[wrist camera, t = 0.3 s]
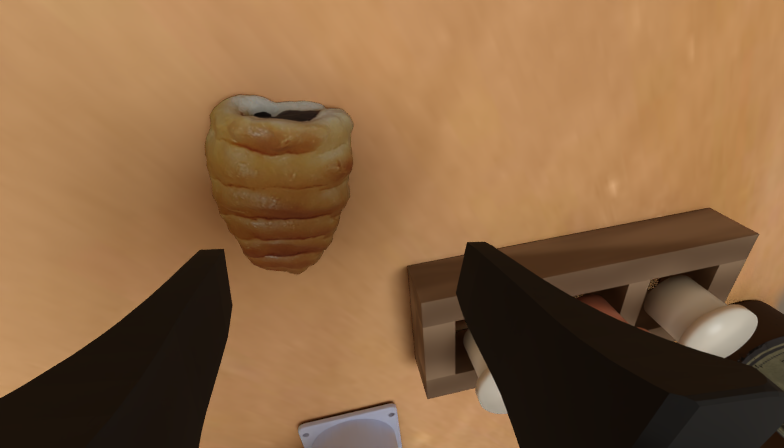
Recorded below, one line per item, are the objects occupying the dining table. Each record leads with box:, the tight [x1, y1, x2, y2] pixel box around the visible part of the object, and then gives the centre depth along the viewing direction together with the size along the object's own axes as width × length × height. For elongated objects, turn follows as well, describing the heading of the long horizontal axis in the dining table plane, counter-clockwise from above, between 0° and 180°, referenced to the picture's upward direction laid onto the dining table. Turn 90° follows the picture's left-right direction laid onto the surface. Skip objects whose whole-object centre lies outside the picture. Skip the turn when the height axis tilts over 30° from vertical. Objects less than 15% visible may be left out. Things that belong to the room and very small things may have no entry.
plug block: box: [407, 208, 759, 399], centre depth 27 cm, size 9×22×4 cm, turn 95°
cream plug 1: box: [463, 328, 508, 414], centre depth 23 cm, size 5×5×4 cm
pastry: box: [205, 95, 353, 274], centre depth 19 cm, size 9×7×4 cm
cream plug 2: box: [644, 275, 758, 358], centre depth 25 cm, size 5×5×4 cm
